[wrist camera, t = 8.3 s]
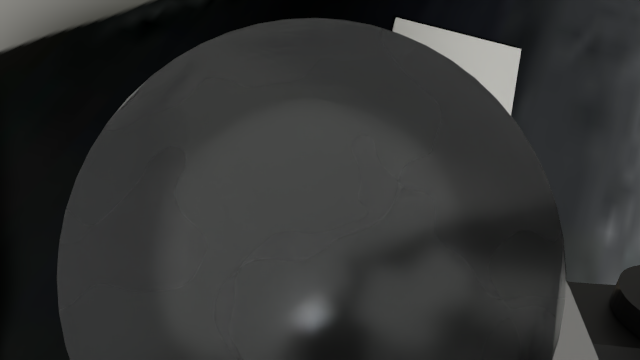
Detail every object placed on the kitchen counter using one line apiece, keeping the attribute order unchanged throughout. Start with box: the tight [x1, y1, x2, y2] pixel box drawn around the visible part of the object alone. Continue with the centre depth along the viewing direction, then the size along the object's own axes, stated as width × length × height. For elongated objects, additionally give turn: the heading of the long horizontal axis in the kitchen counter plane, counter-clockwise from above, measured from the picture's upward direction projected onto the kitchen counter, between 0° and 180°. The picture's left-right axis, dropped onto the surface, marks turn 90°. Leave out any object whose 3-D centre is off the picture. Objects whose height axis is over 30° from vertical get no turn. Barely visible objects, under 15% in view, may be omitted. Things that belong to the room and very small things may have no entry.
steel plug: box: [57, 18, 566, 360], centre depth 10 cm, size 7×7×12 cm
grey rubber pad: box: [392, 17, 521, 116], centre depth 30 cm, size 10×10×1 cm
